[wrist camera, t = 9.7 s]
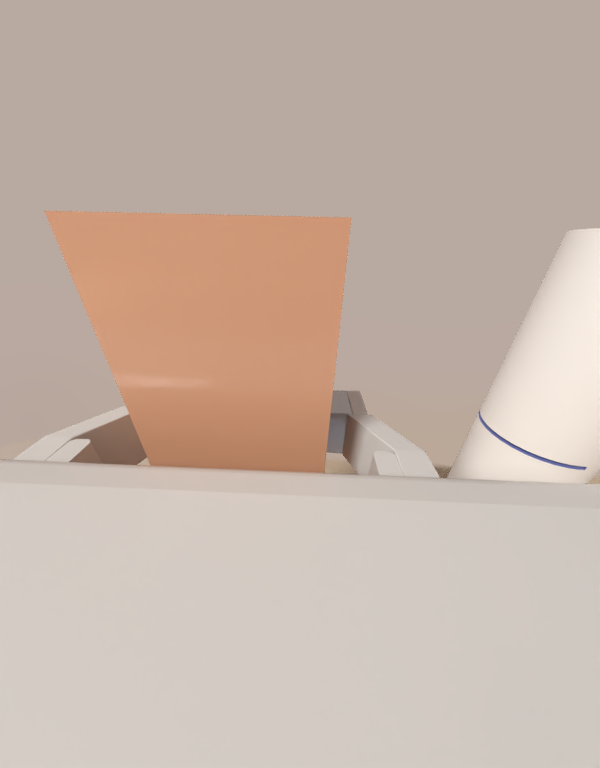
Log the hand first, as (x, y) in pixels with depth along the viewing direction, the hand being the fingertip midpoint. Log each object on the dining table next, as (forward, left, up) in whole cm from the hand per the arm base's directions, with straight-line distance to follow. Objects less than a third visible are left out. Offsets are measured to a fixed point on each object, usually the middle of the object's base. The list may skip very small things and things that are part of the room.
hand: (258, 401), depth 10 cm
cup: (0, +1, -8) cm, 8 cm away
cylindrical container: (-19, -6, -19) cm, 27 cm away
